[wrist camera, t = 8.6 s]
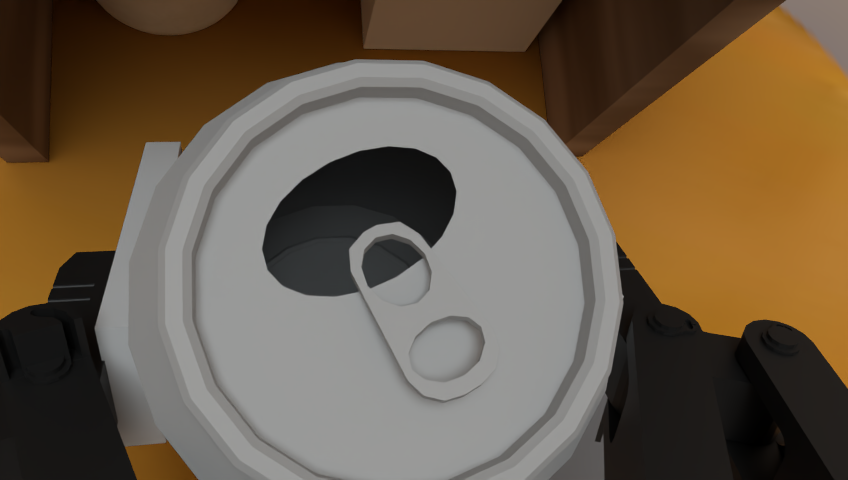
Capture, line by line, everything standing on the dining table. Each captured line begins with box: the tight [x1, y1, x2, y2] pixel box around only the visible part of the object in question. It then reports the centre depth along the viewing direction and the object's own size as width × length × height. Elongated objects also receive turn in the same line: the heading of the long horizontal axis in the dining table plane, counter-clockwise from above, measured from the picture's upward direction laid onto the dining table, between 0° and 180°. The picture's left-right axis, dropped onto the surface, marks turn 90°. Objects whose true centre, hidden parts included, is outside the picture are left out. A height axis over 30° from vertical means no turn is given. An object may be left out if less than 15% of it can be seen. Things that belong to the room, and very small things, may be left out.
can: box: [128, 59, 623, 480], centre depth 15 cm, size 8×8×12 cm
